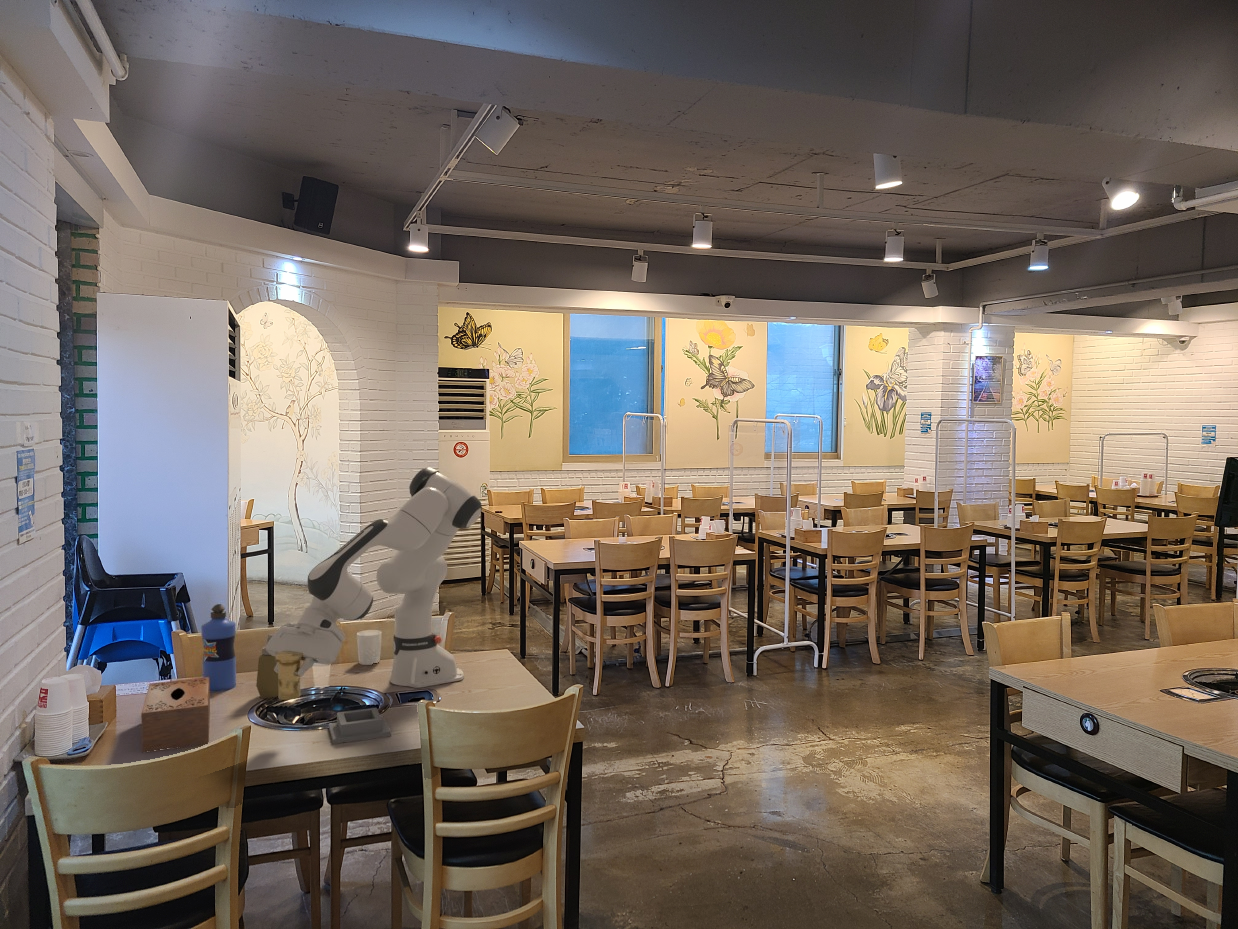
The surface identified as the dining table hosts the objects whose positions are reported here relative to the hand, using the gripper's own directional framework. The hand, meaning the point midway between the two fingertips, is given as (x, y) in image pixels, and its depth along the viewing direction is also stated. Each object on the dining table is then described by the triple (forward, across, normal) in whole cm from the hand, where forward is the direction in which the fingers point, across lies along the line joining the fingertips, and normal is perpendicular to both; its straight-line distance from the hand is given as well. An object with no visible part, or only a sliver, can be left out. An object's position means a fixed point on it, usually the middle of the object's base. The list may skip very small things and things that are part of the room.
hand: (287, 673), depth 214 cm
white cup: (-32, -24, +57) cm, 70 cm away
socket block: (+4, +14, +18) cm, 24 cm away
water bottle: (-5, -49, +29) cm, 57 cm away
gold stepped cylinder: (+4, 0, +5) cm, 6 cm away
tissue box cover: (+18, -29, +7) cm, 35 cm away
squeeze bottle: (-4, -28, +29) cm, 40 cm away
